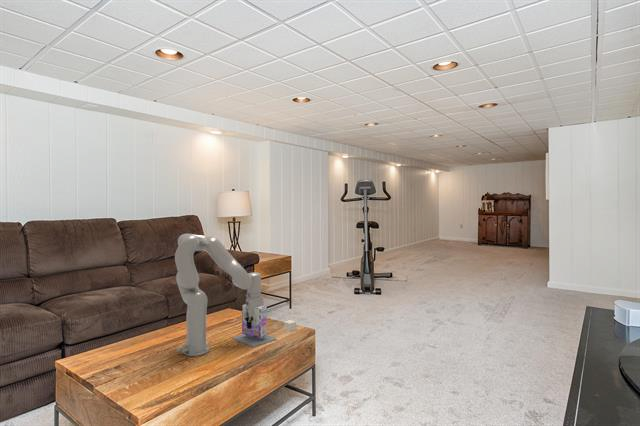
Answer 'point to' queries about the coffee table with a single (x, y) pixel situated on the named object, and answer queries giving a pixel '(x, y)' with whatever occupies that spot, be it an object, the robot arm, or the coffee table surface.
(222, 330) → the coffee table surface
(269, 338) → the grey mat
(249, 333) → the candy box
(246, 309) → the robot arm
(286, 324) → the cream block
